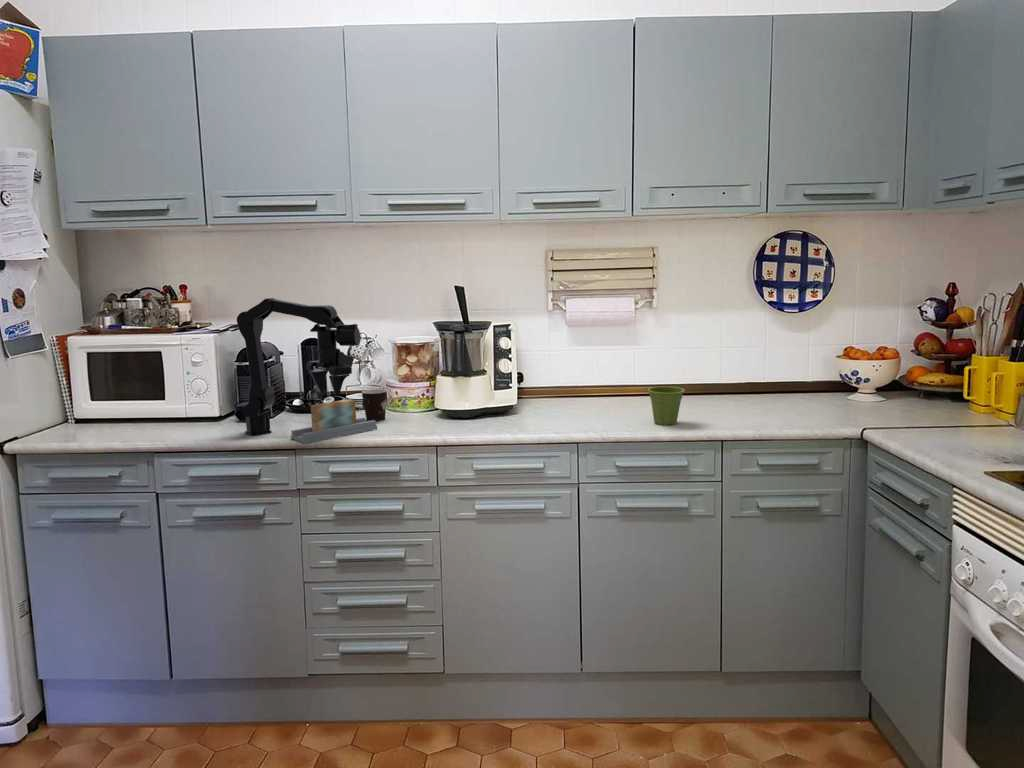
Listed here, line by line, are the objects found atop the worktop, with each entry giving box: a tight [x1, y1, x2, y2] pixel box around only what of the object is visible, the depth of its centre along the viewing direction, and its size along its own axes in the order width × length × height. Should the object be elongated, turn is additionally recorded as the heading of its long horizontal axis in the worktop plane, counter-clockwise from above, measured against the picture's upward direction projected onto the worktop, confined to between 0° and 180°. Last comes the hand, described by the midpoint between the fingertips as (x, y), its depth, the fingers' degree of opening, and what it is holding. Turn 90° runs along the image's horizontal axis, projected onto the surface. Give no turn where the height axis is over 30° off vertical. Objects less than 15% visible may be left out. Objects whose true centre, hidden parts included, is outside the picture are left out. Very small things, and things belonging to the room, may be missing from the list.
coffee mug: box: [361, 388, 388, 422], centre depth 267 cm, size 12×9×10 cm
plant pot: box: [647, 386, 686, 426], centre depth 252 cm, size 12×12×11 cm
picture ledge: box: [290, 417, 378, 444], centre depth 248 cm, size 26×9×3 cm, turn 134°
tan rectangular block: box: [310, 398, 357, 432], centre depth 247 cm, size 14×4×9 cm, turn 134°
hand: (329, 394), depth 246 cm, fingers open, 9 cm apart
